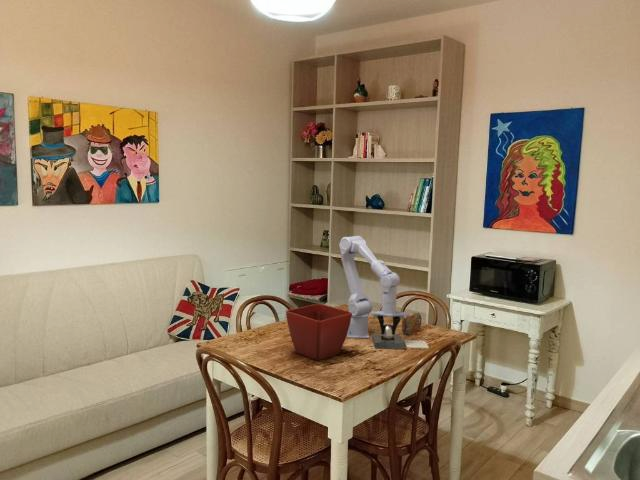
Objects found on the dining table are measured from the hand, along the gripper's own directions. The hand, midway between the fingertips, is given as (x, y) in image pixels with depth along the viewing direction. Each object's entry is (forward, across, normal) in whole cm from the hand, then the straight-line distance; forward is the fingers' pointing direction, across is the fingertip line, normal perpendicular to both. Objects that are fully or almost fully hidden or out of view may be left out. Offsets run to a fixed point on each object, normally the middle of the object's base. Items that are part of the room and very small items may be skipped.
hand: (387, 333), depth 216 cm
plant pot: (+5, -29, -13) cm, 32 cm away
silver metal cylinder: (+4, 0, 0) cm, 4 cm away
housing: (+4, 0, 0) cm, 4 cm away
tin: (+5, +13, +18) cm, 23 cm away
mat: (+4, +12, 0) cm, 13 cm away
